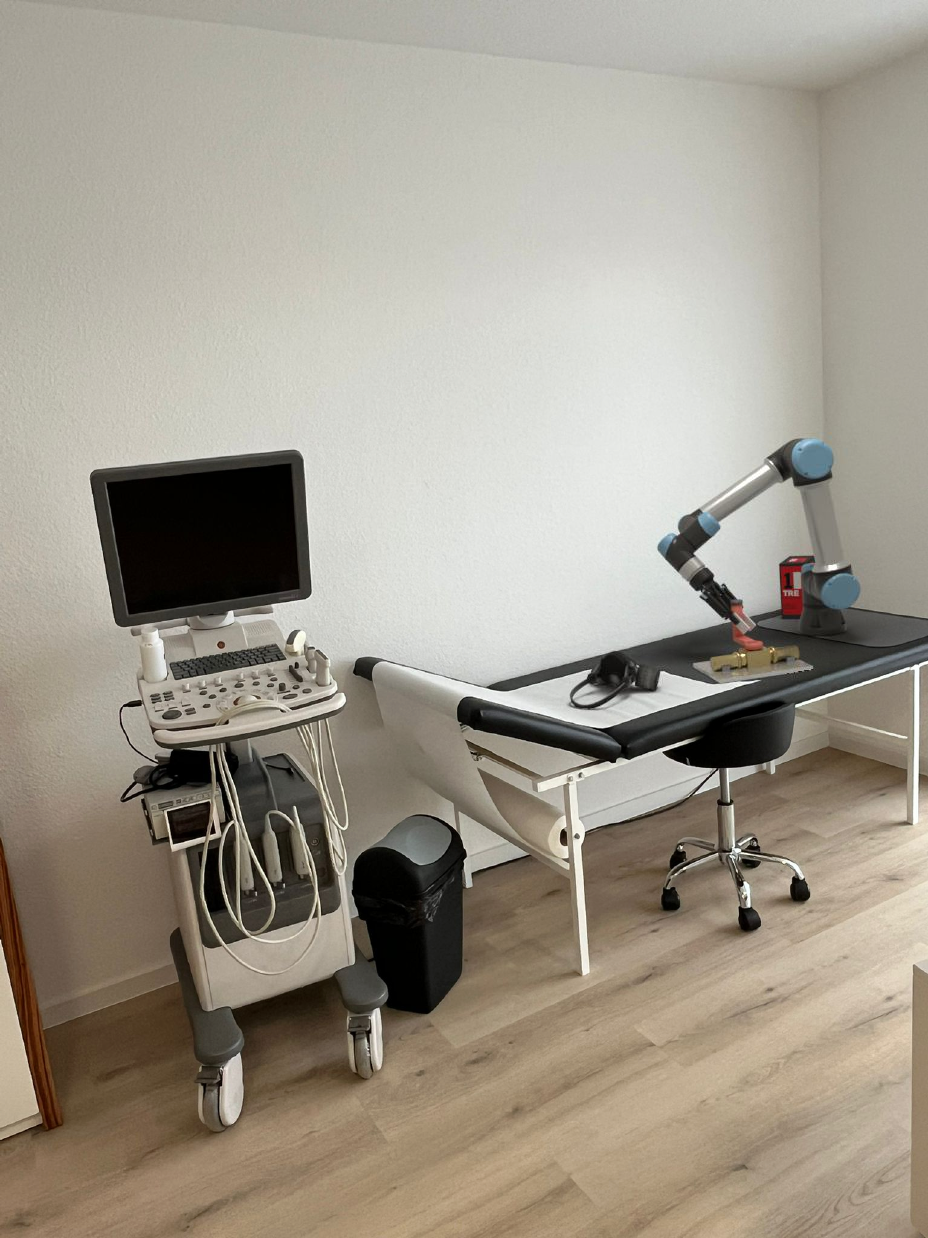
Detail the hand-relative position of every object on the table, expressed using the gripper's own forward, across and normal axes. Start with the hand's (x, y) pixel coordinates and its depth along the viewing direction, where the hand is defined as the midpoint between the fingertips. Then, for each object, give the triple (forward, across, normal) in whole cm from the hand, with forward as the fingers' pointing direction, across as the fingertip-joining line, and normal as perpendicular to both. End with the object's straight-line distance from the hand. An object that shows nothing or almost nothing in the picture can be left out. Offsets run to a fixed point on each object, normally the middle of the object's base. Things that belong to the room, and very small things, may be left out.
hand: (749, 629), depth 296 cm
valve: (+10, +8, -5) cm, 13 cm away
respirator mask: (-7, +46, -22) cm, 52 cm away
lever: (+3, +4, -2) cm, 5 cm away
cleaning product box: (-2, -65, -16) cm, 67 cm away
